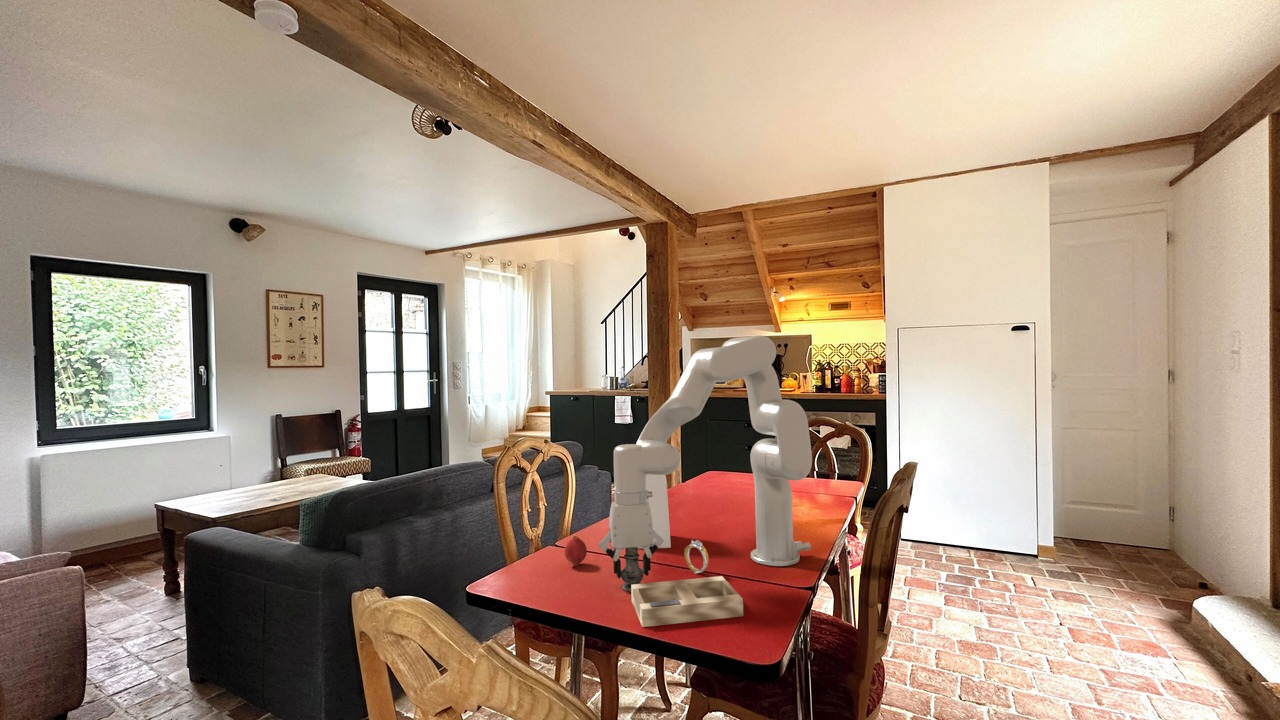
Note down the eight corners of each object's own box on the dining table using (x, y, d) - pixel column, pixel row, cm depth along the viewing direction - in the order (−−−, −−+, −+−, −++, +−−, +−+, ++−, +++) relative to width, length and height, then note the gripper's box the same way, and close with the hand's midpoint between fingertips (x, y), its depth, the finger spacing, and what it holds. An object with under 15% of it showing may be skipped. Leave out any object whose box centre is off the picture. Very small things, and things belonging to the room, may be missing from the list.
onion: (565, 562, 148) (564, 532, 148) (587, 561, 149) (586, 531, 149) (564, 570, 142) (563, 538, 143) (586, 568, 143) (586, 537, 143)
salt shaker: (642, 592, 127) (641, 539, 127) (617, 591, 128) (616, 538, 128) (647, 583, 132) (646, 532, 133) (623, 581, 134) (622, 531, 134)
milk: (670, 547, 158) (668, 456, 159) (630, 548, 159) (628, 457, 159) (669, 535, 170) (667, 450, 171) (631, 536, 171) (629, 451, 171)
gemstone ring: (711, 575, 136) (710, 542, 136) (701, 578, 134) (700, 545, 135) (691, 567, 142) (690, 536, 142) (682, 570, 140) (681, 538, 140)
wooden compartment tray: (722, 591, 126) (722, 575, 126) (743, 616, 113) (742, 597, 114) (631, 600, 122) (631, 583, 123) (642, 627, 110) (641, 608, 110)
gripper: (662, 492, 136) (664, 566, 135) (592, 496, 133) (593, 572, 132) (669, 498, 128) (671, 577, 128) (595, 503, 125) (597, 584, 125)
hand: (632, 574), depth 130 cm, fingers closed on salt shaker, 5 cm apart
